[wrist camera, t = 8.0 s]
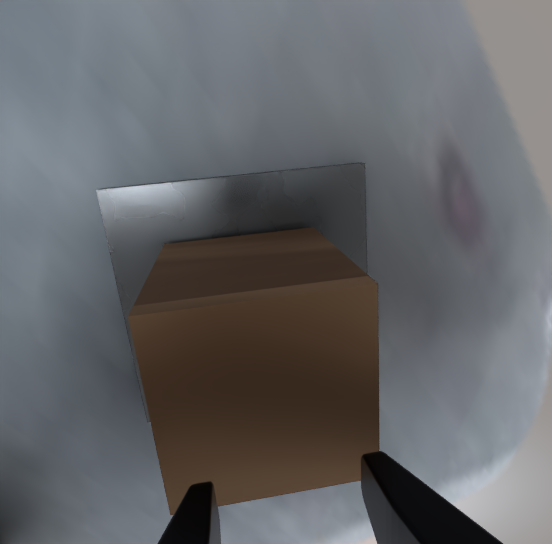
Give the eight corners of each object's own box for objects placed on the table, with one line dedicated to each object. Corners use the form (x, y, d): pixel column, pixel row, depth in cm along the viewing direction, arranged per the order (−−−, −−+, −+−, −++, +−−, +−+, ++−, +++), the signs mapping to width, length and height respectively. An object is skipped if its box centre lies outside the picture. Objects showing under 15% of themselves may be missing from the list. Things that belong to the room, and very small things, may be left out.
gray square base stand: (366, 381, 19) (444, 506, 13) (148, 416, 18) (111, 572, 12) (361, 162, 16) (462, 177, 10) (99, 189, 15) (8, 225, 9)
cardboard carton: (320, 357, 17) (379, 476, 11) (187, 376, 17) (170, 515, 11) (313, 227, 16) (377, 283, 9) (163, 244, 15) (128, 316, 9)
